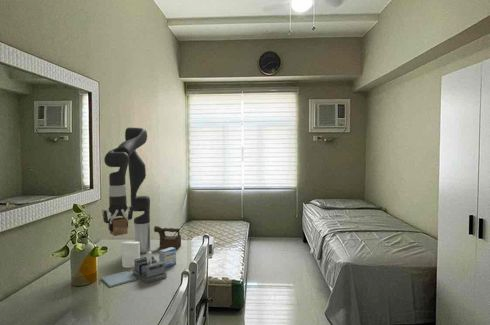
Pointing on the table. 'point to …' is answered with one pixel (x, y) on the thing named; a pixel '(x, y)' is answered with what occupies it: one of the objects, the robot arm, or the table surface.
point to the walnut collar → (119, 226)
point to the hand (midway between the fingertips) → (118, 230)
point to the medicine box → (168, 256)
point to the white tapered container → (130, 253)
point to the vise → (149, 268)
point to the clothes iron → (168, 238)
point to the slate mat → (118, 278)
